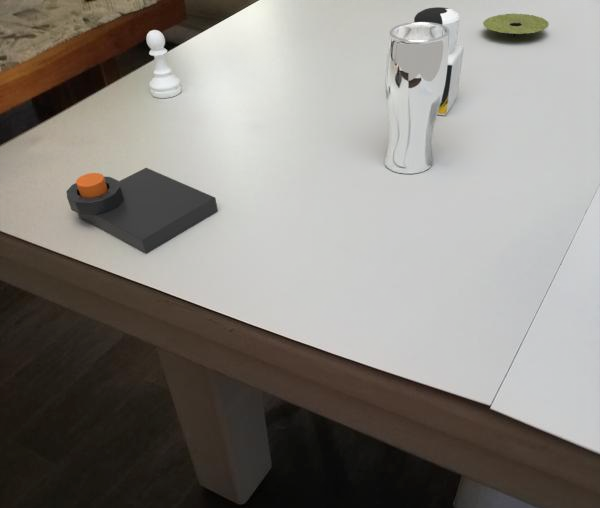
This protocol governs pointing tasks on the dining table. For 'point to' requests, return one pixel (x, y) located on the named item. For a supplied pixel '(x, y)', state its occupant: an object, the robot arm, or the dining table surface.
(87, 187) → the tare button
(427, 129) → the beer glass
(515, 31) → the green disc
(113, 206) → the dark grey button base
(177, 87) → the chess pawn
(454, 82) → the medicine bottle
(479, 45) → the dining table surface
